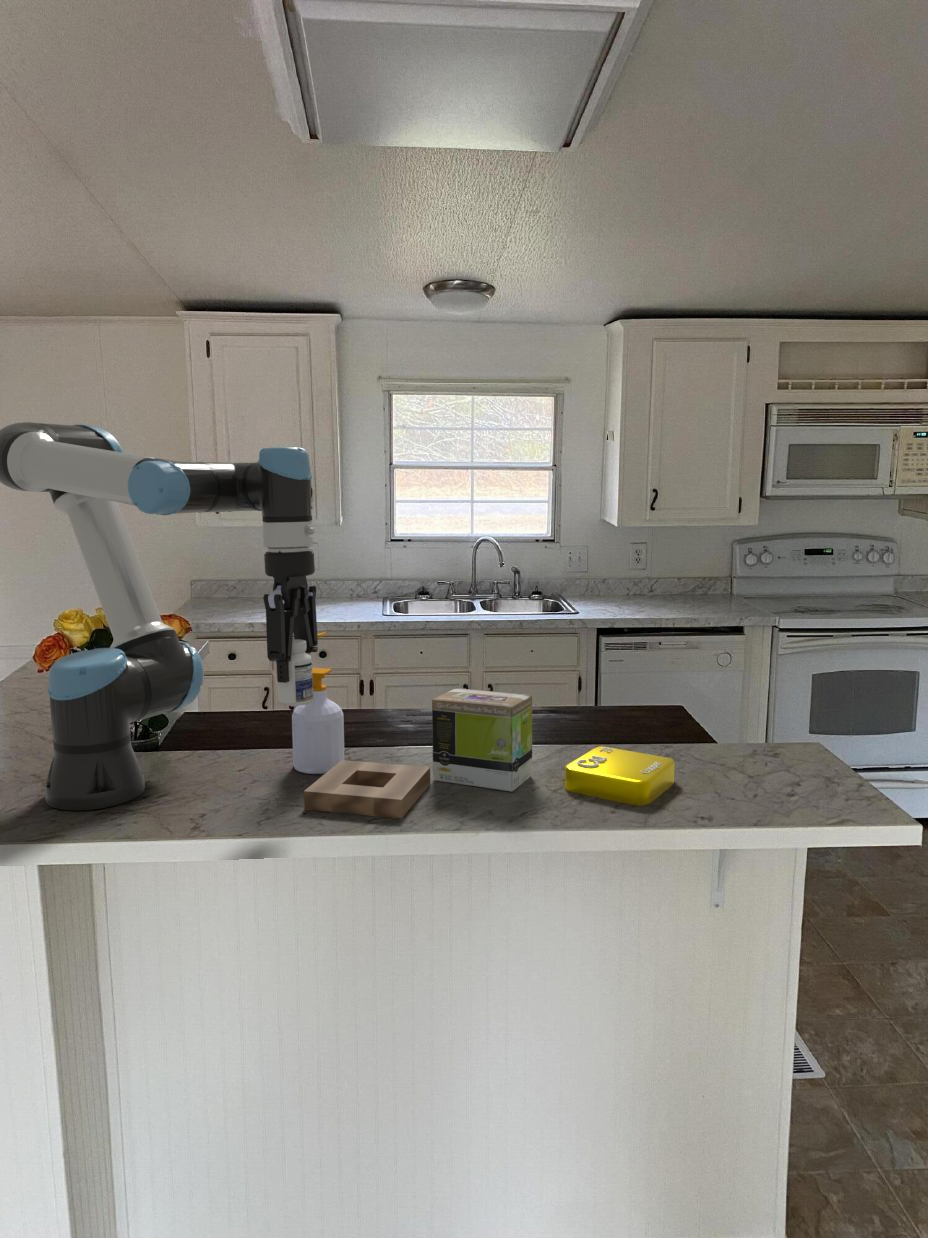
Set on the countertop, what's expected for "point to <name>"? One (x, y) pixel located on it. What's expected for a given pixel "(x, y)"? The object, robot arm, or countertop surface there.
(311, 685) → the pill bottle
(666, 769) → the element tile
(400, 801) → the socket block
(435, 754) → the tea box
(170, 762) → the countertop surface
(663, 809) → the countertop surface
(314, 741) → the soap bottle
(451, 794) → the countertop surface
